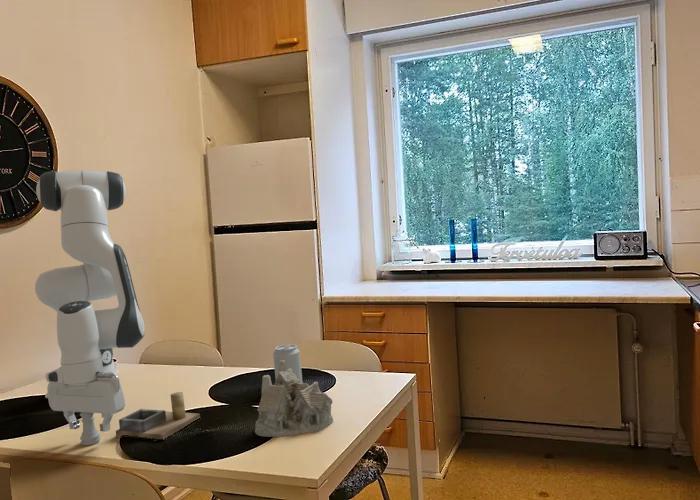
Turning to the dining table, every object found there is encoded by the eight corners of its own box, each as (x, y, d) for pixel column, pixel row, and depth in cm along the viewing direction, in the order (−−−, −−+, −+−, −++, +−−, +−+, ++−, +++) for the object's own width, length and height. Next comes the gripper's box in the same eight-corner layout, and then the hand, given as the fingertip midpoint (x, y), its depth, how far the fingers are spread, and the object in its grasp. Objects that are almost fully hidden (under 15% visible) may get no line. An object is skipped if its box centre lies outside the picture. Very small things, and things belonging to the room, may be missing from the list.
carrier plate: (116, 437, 148) (112, 406, 147) (155, 416, 161) (152, 388, 160) (163, 441, 143) (160, 409, 142) (200, 419, 155) (197, 390, 155)
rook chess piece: (84, 440, 148) (80, 407, 147) (103, 437, 148) (99, 405, 148) (77, 447, 143) (73, 413, 143) (97, 445, 144) (93, 411, 143)
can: (271, 391, 174) (267, 349, 173) (284, 383, 181) (280, 343, 180) (295, 392, 171) (291, 349, 170) (307, 384, 178) (303, 343, 177)
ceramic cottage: (244, 431, 144) (243, 368, 143) (294, 412, 157) (293, 353, 155) (293, 448, 134) (291, 380, 133) (342, 425, 147) (341, 363, 145)
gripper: (127, 368, 143) (134, 427, 144) (61, 367, 151) (68, 422, 152) (107, 376, 138) (114, 437, 139) (40, 374, 145) (47, 432, 146)
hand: (90, 429), depth 146 cm, fingers open, 8 cm apart
